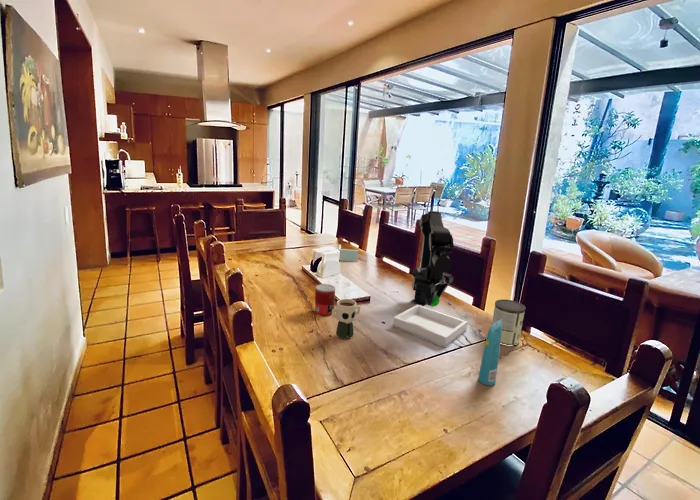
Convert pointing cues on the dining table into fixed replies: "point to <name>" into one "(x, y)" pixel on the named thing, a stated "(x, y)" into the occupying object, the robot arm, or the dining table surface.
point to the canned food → (324, 299)
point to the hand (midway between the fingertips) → (432, 303)
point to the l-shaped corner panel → (348, 255)
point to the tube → (491, 355)
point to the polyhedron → (435, 301)
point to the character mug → (345, 317)
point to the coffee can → (509, 320)
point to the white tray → (430, 325)
